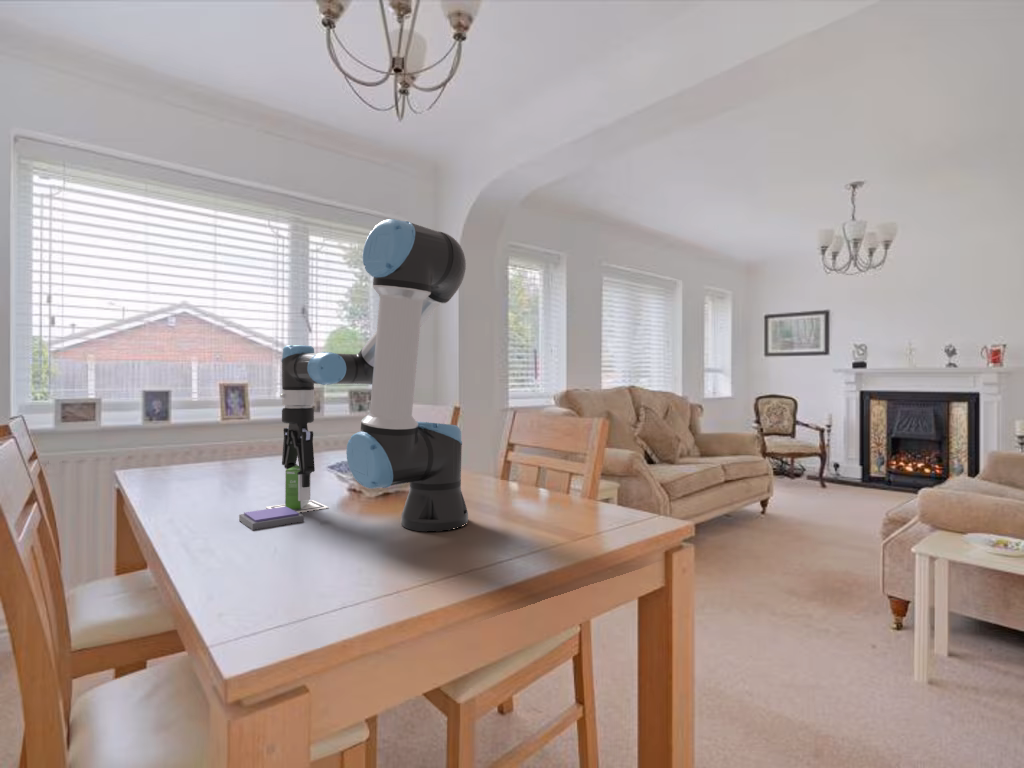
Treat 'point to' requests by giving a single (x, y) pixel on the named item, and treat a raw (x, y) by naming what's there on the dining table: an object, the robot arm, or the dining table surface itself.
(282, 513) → the ink pad
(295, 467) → the ink box
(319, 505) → the print sheet
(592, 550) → the dining table surface
